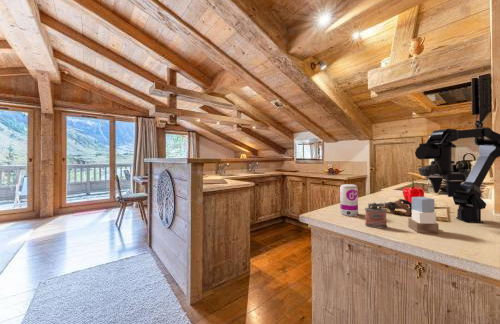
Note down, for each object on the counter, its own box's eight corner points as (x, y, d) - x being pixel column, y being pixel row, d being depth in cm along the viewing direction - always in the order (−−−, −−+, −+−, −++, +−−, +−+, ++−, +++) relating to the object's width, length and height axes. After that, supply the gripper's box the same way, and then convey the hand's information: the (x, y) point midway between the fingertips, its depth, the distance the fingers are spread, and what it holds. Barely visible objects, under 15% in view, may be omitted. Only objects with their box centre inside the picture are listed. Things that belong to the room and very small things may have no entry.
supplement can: (361, 216, 108) (360, 186, 108) (344, 216, 108) (343, 186, 108) (353, 212, 116) (353, 183, 116) (337, 212, 116) (337, 184, 116)
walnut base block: (427, 228, 89) (427, 218, 89) (438, 234, 83) (438, 223, 83) (408, 227, 91) (408, 218, 91) (417, 233, 84) (417, 223, 84)
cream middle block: (426, 219, 88) (426, 209, 88) (436, 223, 83) (435, 213, 83) (411, 219, 89) (411, 209, 89) (419, 223, 84) (419, 213, 84)
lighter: (365, 226, 93) (365, 203, 93) (364, 224, 96) (364, 201, 96) (387, 228, 90) (387, 204, 90) (385, 225, 93) (385, 202, 93)
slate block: (423, 208, 89) (423, 196, 89) (434, 211, 84) (434, 198, 84) (411, 209, 89) (411, 197, 89) (422, 212, 84) (421, 199, 84)
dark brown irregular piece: (400, 211, 117) (409, 199, 113) (411, 224, 109) (421, 211, 105) (379, 206, 116) (387, 194, 112) (388, 219, 108) (397, 206, 104)
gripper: (410, 158, 105) (411, 191, 106) (433, 159, 87) (433, 198, 88) (437, 158, 103) (438, 191, 103) (467, 159, 85) (467, 199, 85)
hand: (442, 194), depth 95 cm, fingers open, 9 cm apart
